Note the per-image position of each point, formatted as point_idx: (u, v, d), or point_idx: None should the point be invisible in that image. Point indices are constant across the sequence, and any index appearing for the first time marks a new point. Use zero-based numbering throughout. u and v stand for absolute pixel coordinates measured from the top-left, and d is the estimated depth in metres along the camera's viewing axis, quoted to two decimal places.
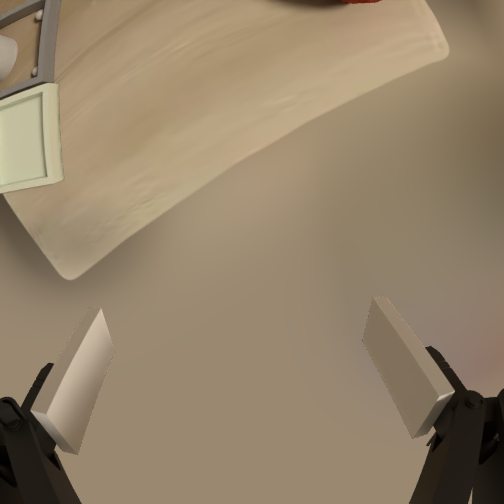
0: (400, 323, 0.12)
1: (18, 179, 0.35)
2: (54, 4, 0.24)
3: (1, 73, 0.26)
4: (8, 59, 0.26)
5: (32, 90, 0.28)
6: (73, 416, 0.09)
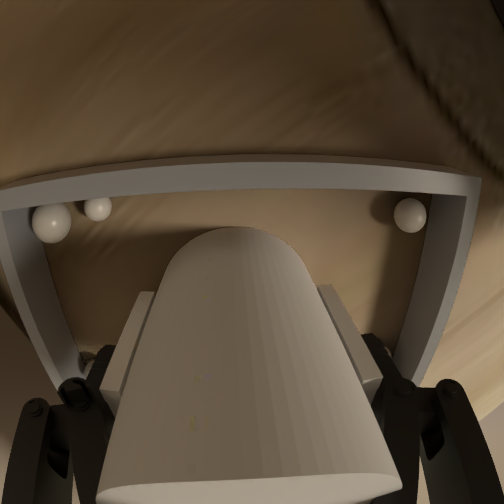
0: (339, 309, 0.13)
1: None
2: None
3: None
4: None
5: None
6: None
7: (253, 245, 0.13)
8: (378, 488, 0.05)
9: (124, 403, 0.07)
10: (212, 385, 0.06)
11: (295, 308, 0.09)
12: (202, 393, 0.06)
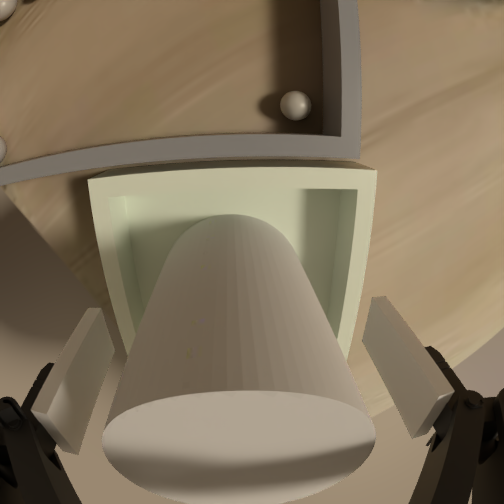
0: (400, 323, 0.12)
1: None
2: None
3: None
4: None
5: (322, 176, 0.14)
6: (73, 416, 0.09)
7: (246, 228, 0.15)
8: (351, 427, 0.07)
9: (132, 353, 0.08)
10: (206, 326, 0.08)
11: (278, 275, 0.11)
12: (197, 332, 0.07)
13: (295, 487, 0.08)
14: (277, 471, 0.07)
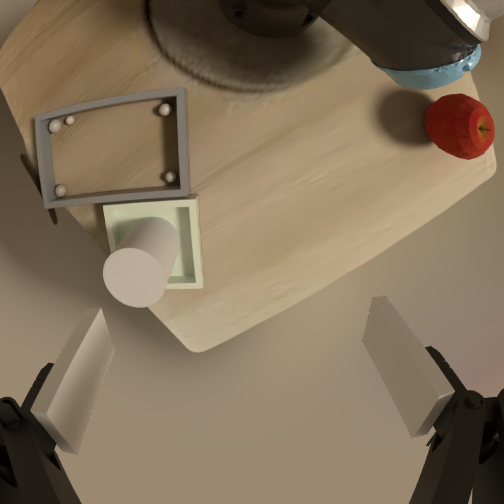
0: (400, 323, 0.12)
1: None
2: (185, 104, 0.37)
3: None
4: (177, 253, 0.45)
5: (175, 203, 0.41)
6: (73, 416, 0.09)
7: (153, 221, 0.42)
8: (153, 263, 0.34)
9: None
10: (128, 241, 0.35)
11: (152, 233, 0.38)
12: (126, 242, 0.35)
13: (150, 292, 0.36)
14: (142, 279, 0.35)
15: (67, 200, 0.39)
